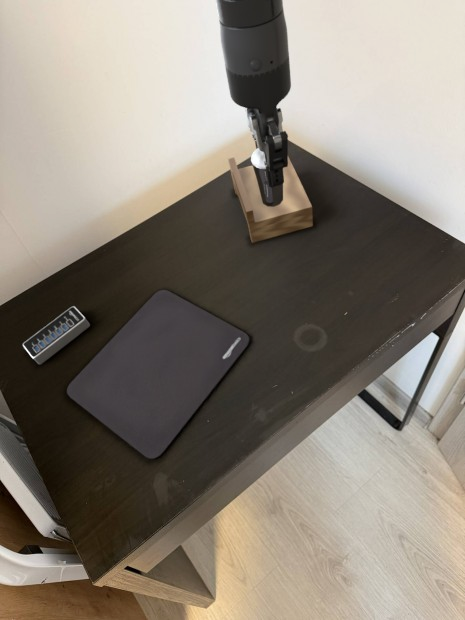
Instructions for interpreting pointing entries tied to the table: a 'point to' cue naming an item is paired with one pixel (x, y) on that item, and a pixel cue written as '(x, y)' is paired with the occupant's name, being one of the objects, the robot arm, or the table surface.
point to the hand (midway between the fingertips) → (270, 172)
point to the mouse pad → (157, 371)
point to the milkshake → (265, 181)
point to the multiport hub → (56, 335)
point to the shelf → (271, 219)
